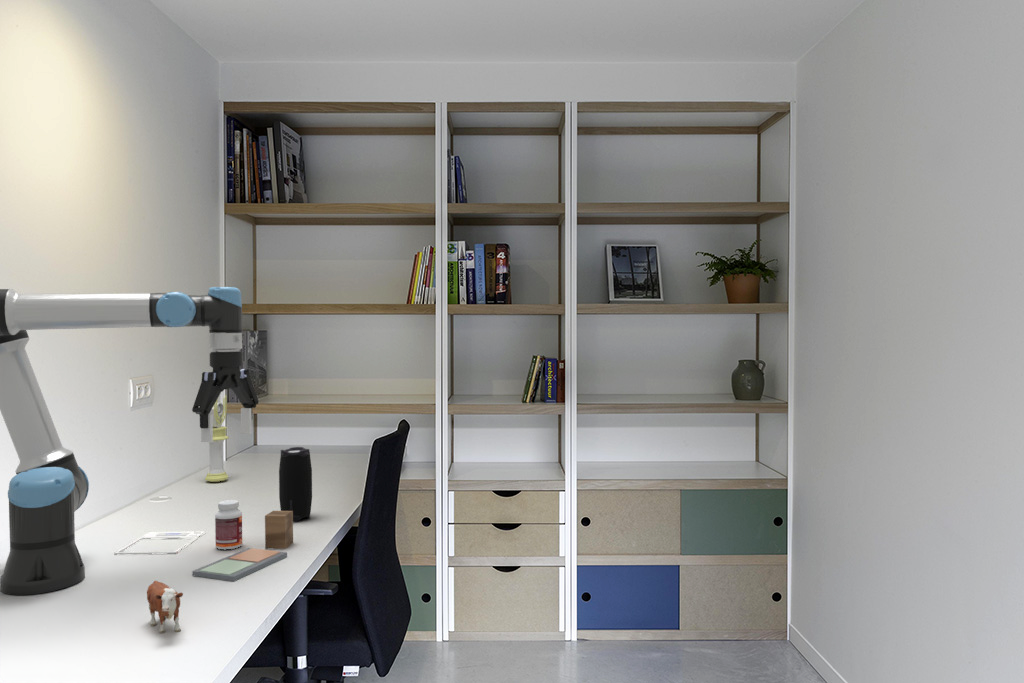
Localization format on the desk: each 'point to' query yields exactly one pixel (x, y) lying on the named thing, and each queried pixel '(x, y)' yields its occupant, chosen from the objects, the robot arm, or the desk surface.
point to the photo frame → (159, 535)
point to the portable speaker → (295, 482)
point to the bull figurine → (163, 604)
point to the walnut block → (279, 529)
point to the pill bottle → (228, 525)
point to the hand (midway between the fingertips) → (227, 437)
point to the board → (240, 564)
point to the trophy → (217, 443)
